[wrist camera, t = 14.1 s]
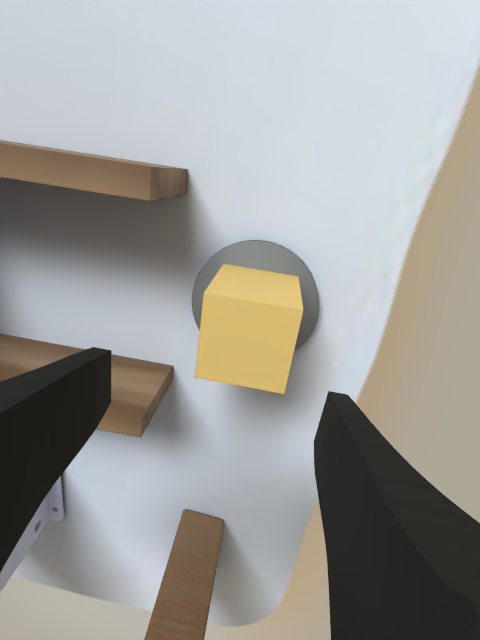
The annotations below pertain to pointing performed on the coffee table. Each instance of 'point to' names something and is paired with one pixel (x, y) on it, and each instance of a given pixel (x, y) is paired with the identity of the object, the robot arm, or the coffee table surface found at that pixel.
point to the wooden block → (187, 580)
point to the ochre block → (249, 328)
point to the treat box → (26, 355)
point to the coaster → (265, 259)
